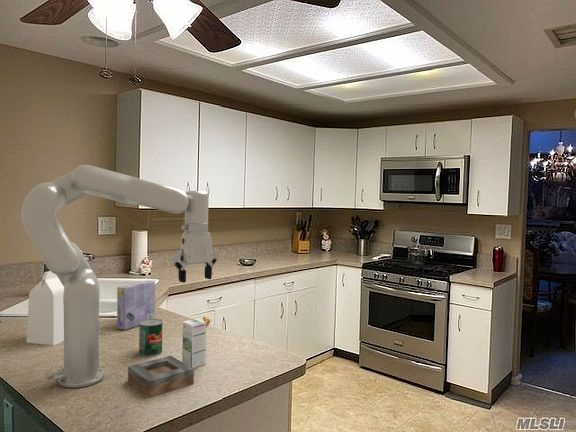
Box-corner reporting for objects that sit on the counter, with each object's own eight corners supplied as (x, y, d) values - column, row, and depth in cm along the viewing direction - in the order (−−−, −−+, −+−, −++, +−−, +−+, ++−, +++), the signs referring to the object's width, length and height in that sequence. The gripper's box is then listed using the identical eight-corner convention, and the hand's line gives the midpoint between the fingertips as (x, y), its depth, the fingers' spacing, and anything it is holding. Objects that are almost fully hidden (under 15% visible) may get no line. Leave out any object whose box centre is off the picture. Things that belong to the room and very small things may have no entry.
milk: (53, 345, 161) (53, 274, 160) (26, 342, 163) (26, 272, 162) (75, 335, 173) (75, 269, 172) (50, 332, 175) (50, 267, 174)
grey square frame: (149, 397, 122) (149, 381, 122) (127, 381, 132) (128, 366, 132) (193, 383, 132) (193, 368, 131) (170, 369, 142) (170, 355, 142)
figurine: (197, 344, 166) (198, 312, 165) (213, 345, 165) (213, 313, 165) (190, 352, 158) (190, 318, 157) (206, 353, 157) (206, 319, 156)
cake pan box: (148, 318, 199) (149, 279, 198) (157, 319, 197) (157, 280, 196) (115, 329, 182) (115, 286, 181) (124, 331, 180) (125, 288, 179)
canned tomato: (155, 357, 152) (156, 326, 151) (134, 355, 153) (134, 324, 153) (166, 349, 160) (166, 319, 159) (145, 347, 161) (146, 318, 160)
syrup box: (206, 364, 147) (207, 321, 146) (191, 369, 142) (192, 324, 142) (196, 359, 151) (196, 317, 150) (181, 364, 146) (182, 321, 146)
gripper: (178, 230, 136) (177, 285, 137) (224, 228, 148) (223, 279, 149) (166, 228, 141) (165, 281, 142) (212, 226, 153) (211, 275, 154)
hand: (195, 280), depth 145 cm, fingers open, 9 cm apart
